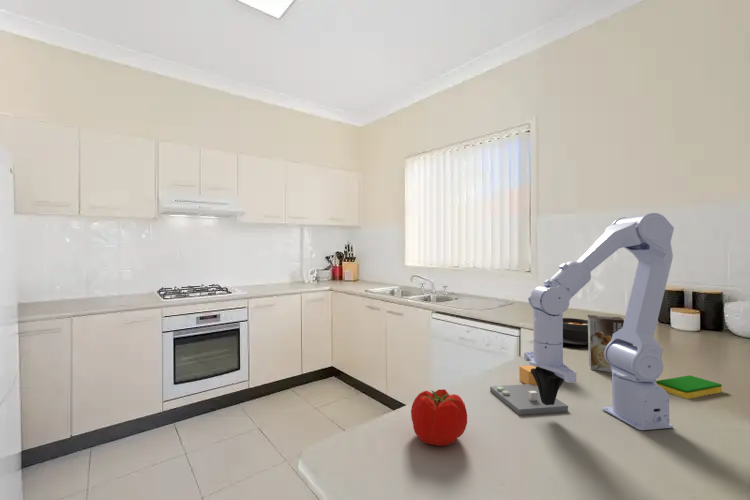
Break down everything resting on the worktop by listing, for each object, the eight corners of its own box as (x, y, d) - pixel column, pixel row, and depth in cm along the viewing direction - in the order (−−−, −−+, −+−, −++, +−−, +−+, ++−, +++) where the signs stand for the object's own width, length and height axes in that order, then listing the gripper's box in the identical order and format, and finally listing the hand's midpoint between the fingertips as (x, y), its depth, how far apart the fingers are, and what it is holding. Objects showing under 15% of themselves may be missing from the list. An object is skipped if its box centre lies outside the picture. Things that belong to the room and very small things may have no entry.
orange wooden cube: (543, 385, 90) (543, 370, 90) (528, 386, 90) (528, 371, 90) (533, 379, 95) (533, 365, 95) (519, 380, 94) (519, 366, 94)
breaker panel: (568, 411, 76) (568, 403, 76) (519, 414, 74) (519, 407, 74) (532, 388, 88) (532, 381, 88) (490, 391, 87) (490, 384, 87)
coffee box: (622, 368, 104) (622, 316, 105) (626, 374, 99) (626, 320, 99) (587, 363, 109) (587, 314, 109) (589, 369, 103) (589, 317, 103)
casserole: (591, 352, 121) (591, 329, 121) (538, 342, 135) (538, 321, 135) (609, 340, 138) (609, 320, 138) (560, 333, 152) (560, 314, 152)
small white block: (537, 400, 78) (537, 392, 78) (531, 400, 78) (531, 393, 78) (534, 398, 79) (534, 390, 79) (528, 398, 79) (528, 391, 79)
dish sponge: (722, 393, 86) (722, 384, 86) (687, 400, 82) (687, 390, 82) (689, 383, 93) (689, 374, 93) (655, 389, 89) (655, 380, 89)
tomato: (476, 437, 65) (476, 392, 65) (447, 463, 57) (447, 412, 57) (429, 419, 72) (429, 378, 72) (398, 440, 64) (398, 394, 64)
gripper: (512, 334, 80) (512, 391, 80) (553, 351, 66) (553, 421, 65) (539, 333, 81) (539, 389, 81) (585, 350, 67) (586, 418, 67)
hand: (547, 403), depth 73 cm, fingers closed
